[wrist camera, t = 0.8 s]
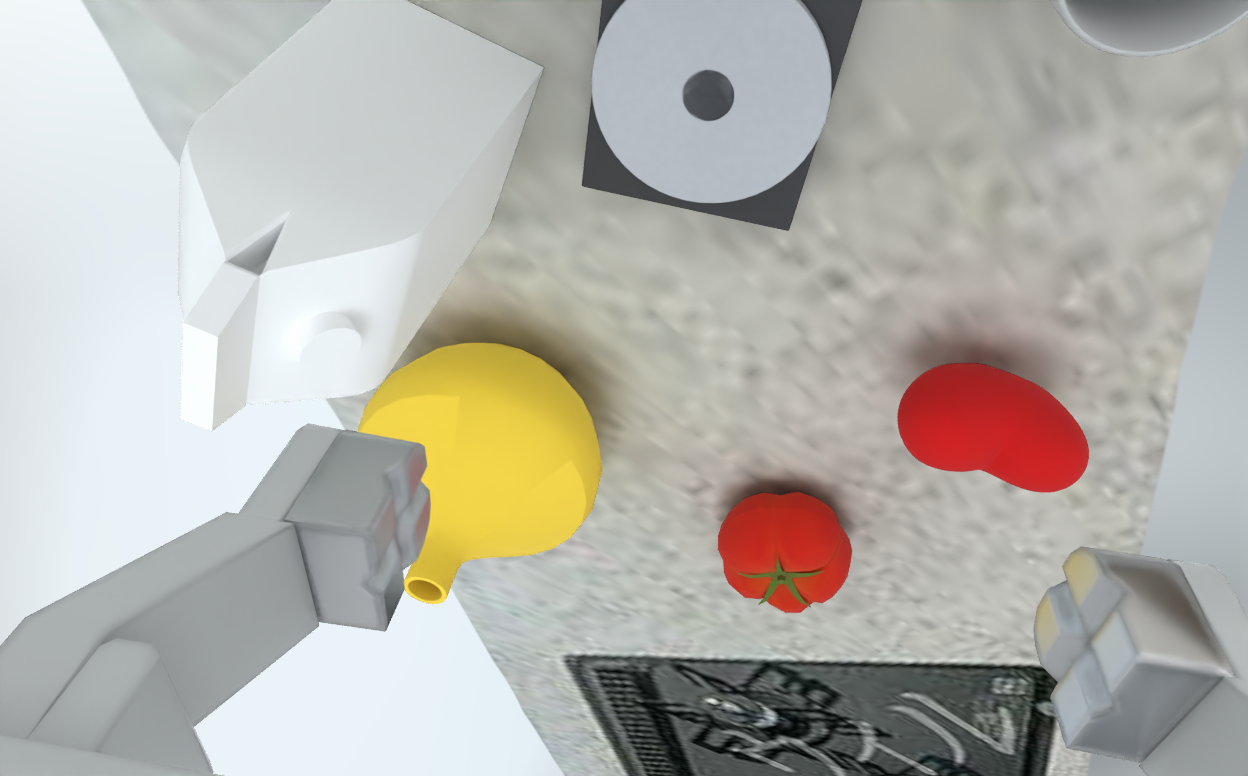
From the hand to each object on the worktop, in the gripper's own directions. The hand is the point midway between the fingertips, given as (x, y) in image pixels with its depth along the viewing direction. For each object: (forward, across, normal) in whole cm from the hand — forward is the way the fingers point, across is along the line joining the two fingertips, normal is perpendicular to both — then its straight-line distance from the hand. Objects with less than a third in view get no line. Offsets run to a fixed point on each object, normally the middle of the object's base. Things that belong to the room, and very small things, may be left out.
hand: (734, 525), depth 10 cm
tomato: (+43, -10, +43) cm, 62 cm away
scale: (+41, +1, +7) cm, 41 cm away
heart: (+42, -20, +24) cm, 52 cm away
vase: (+44, +14, +35) cm, 57 cm away
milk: (+42, +19, +11) cm, 47 cm away
